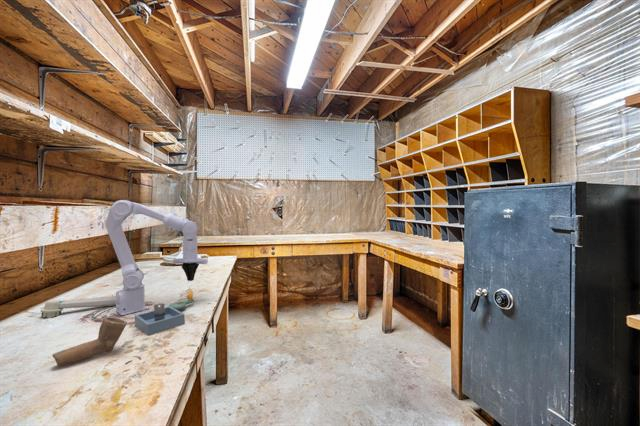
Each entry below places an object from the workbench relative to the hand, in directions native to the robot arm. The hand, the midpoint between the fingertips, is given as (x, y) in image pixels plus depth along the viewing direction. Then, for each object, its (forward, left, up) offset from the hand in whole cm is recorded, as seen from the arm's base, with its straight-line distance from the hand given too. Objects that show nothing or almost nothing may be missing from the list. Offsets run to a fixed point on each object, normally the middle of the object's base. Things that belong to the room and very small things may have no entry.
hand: (190, 280), depth 127 cm
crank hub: (-8, -6, -9) cm, 14 cm away
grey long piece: (-33, +22, -10) cm, 41 cm away
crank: (-6, -5, -8) cm, 12 cm away
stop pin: (-18, -15, -8) cm, 25 cm away
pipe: (-39, -23, -10) cm, 47 cm away
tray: (-18, -15, -9) cm, 25 cm away
